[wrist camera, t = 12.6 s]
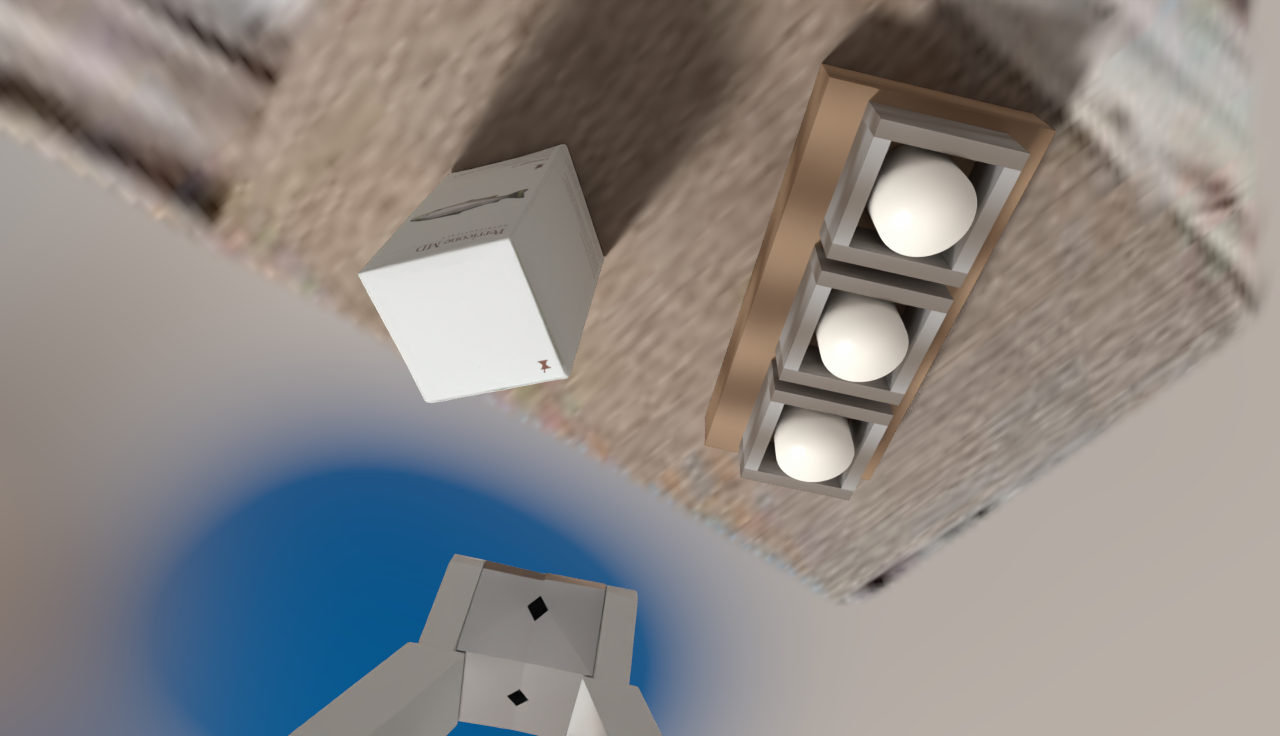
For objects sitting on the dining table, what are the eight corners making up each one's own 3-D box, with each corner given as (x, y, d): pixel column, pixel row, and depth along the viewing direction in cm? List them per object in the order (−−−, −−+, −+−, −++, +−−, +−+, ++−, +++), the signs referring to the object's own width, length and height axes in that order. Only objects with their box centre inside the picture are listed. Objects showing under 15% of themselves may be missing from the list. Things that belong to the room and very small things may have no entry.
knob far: (785, 383, 43) (789, 416, 40) (856, 398, 43) (866, 433, 40) (763, 438, 45) (766, 473, 42) (830, 452, 45) (838, 488, 43)
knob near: (884, 133, 34) (899, 155, 31) (973, 154, 34) (994, 177, 32) (850, 219, 37) (861, 245, 34) (933, 237, 37) (950, 265, 34)
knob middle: (829, 272, 38) (837, 301, 36) (908, 290, 38) (922, 320, 36) (802, 340, 41) (808, 372, 38) (876, 356, 41) (888, 389, 38)
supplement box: (568, 138, 39) (515, 234, 28) (606, 260, 43) (573, 384, 32) (444, 169, 40) (351, 271, 30) (492, 284, 44) (425, 409, 34)
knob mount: (821, 63, 36) (839, 93, 31) (1032, 113, 36) (1083, 151, 31) (705, 416, 49) (704, 477, 44) (861, 449, 49) (878, 513, 44)
